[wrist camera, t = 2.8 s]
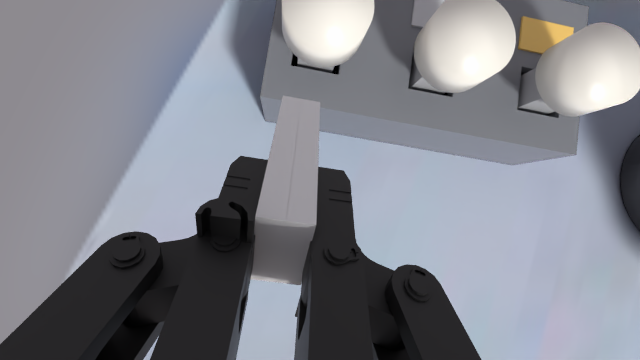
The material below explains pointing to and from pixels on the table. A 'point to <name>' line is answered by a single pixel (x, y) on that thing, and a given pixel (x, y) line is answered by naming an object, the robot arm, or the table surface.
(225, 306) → the robot arm
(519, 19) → the console
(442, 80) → the button middle
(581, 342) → the table surface
